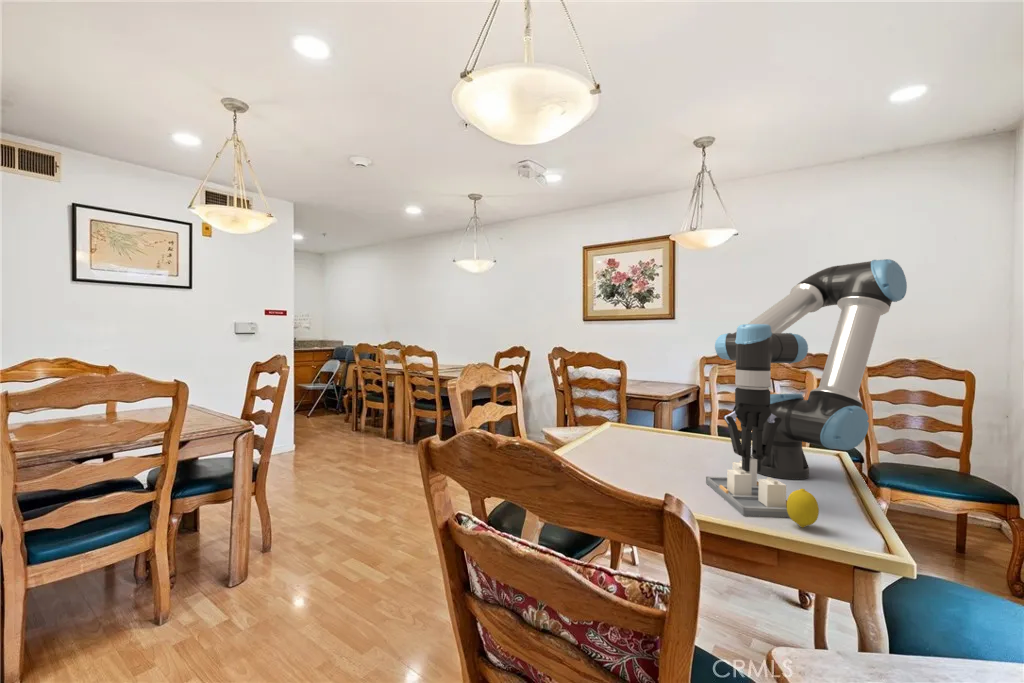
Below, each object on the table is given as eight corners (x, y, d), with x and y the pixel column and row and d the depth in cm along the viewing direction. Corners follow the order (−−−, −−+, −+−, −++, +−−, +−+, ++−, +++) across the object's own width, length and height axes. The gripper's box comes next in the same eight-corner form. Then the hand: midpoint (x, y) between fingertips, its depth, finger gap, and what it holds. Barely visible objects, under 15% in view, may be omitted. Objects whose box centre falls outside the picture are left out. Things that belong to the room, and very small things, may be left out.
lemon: (808, 535, 86) (809, 495, 86) (780, 524, 91) (781, 486, 91) (824, 530, 89) (824, 490, 89) (796, 520, 94) (796, 482, 94)
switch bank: (748, 484, 117) (748, 475, 117) (795, 517, 95) (795, 506, 95) (705, 483, 118) (706, 473, 118) (743, 515, 96) (743, 504, 96)
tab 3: (776, 501, 101) (776, 476, 101) (785, 507, 97) (786, 482, 97) (758, 500, 101) (758, 476, 101) (767, 507, 97) (767, 481, 97)
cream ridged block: (743, 490, 108) (744, 467, 108) (751, 495, 104) (751, 472, 104) (727, 489, 109) (727, 467, 109) (734, 495, 105) (734, 471, 105)
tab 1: (748, 481, 115) (748, 460, 115) (755, 486, 111) (755, 464, 111) (732, 481, 115) (732, 459, 115) (739, 486, 111) (739, 464, 111)
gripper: (772, 386, 110) (770, 480, 110) (718, 385, 110) (717, 478, 110) (789, 389, 102) (787, 490, 102) (731, 388, 103) (730, 488, 103)
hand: (750, 484), depth 106 cm, fingers closed
